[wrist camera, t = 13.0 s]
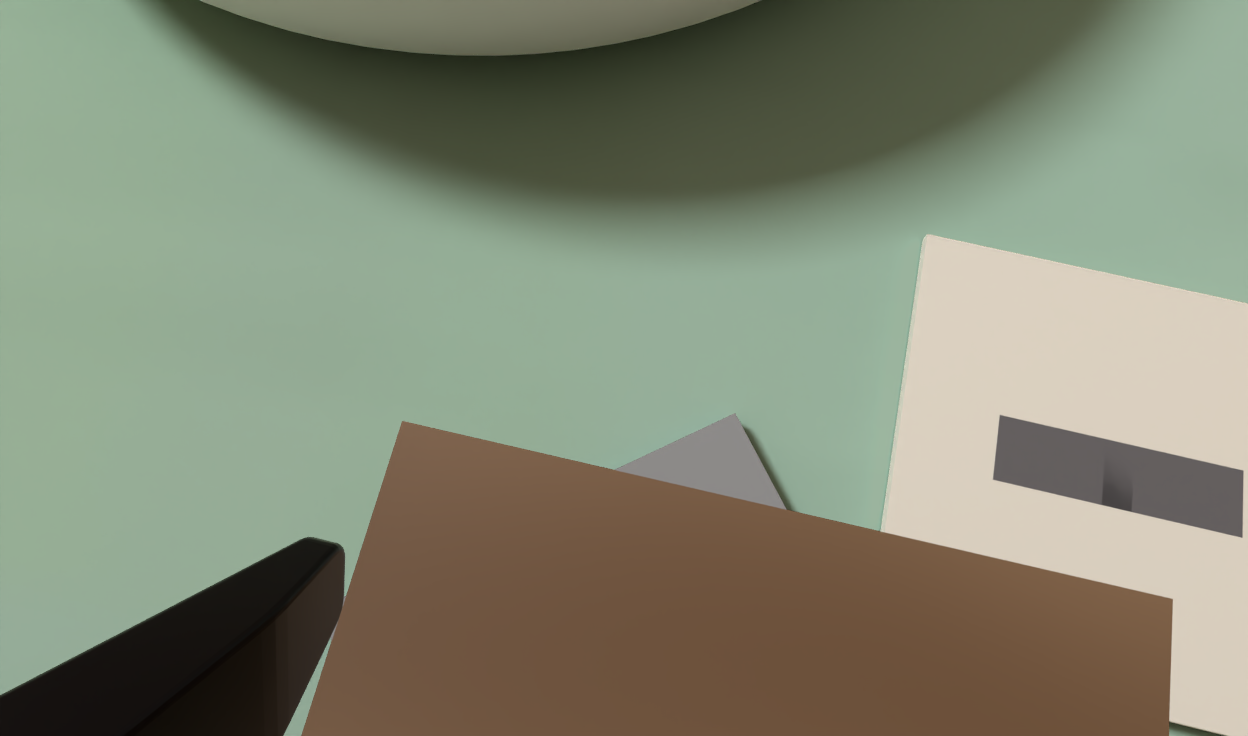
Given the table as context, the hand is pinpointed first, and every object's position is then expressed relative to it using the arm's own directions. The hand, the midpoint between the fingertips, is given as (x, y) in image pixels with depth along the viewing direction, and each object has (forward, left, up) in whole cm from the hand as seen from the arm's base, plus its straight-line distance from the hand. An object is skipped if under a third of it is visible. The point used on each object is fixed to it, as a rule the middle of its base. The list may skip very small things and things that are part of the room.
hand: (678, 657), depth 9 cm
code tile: (-1, -10, -8) cm, 13 cm away
